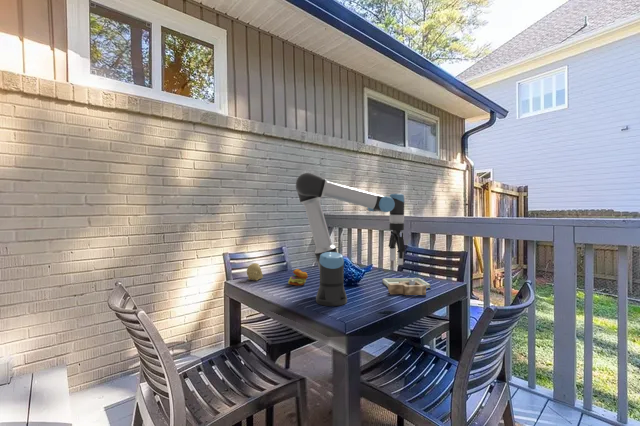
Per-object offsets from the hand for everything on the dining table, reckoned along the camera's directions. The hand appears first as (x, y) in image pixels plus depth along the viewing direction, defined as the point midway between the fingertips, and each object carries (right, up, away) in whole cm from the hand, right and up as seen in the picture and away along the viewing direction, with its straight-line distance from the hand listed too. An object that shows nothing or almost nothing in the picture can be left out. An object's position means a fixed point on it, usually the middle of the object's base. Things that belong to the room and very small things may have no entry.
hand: (396, 262), depth 174 cm
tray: (+10, -16, +17) cm, 25 cm away
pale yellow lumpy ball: (-82, -16, +31) cm, 89 cm away
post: (+9, -16, +1) cm, 19 cm away
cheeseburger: (-54, -16, +20) cm, 60 cm away
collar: (+5, -17, +1) cm, 17 cm away
